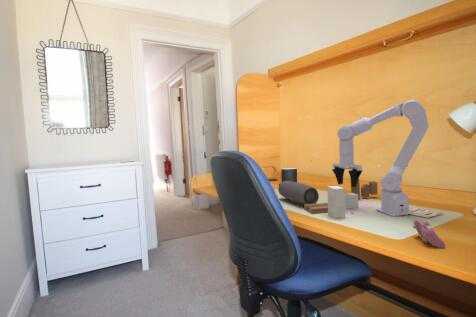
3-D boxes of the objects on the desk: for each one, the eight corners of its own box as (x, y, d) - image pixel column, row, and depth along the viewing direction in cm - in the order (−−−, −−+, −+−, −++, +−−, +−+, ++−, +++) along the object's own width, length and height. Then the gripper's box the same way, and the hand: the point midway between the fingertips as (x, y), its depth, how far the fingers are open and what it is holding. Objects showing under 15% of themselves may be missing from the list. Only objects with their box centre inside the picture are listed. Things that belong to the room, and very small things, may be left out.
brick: (358, 208, 116) (358, 194, 116) (341, 209, 115) (340, 196, 114) (352, 206, 120) (352, 193, 119) (336, 207, 119) (336, 194, 118)
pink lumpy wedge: (415, 239, 81) (408, 217, 81) (432, 236, 80) (425, 213, 80) (428, 253, 72) (420, 228, 72) (447, 249, 71) (439, 224, 71)
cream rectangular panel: (364, 215, 105) (364, 214, 105) (345, 217, 104) (345, 215, 104) (355, 211, 111) (355, 210, 111) (337, 212, 110) (337, 211, 110)
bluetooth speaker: (320, 207, 120) (319, 185, 120) (302, 209, 117) (302, 187, 117) (293, 197, 142) (292, 178, 141) (277, 199, 139) (277, 180, 138)
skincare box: (345, 219, 101) (345, 188, 100) (335, 220, 101) (334, 189, 100) (337, 215, 107) (336, 185, 106) (327, 216, 107) (326, 186, 106)
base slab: (344, 212, 111) (344, 206, 110) (312, 215, 109) (311, 209, 108) (334, 207, 119) (334, 202, 118) (304, 210, 116) (304, 204, 116)
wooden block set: (374, 196, 137) (373, 176, 137) (381, 199, 129) (380, 177, 128) (337, 197, 139) (337, 177, 139) (342, 200, 131) (341, 179, 130)
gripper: (367, 154, 111) (367, 186, 112) (340, 153, 124) (341, 182, 125) (354, 155, 108) (355, 188, 109) (329, 154, 121) (329, 183, 122)
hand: (346, 185), depth 117 cm, fingers open, 7 cm apart
